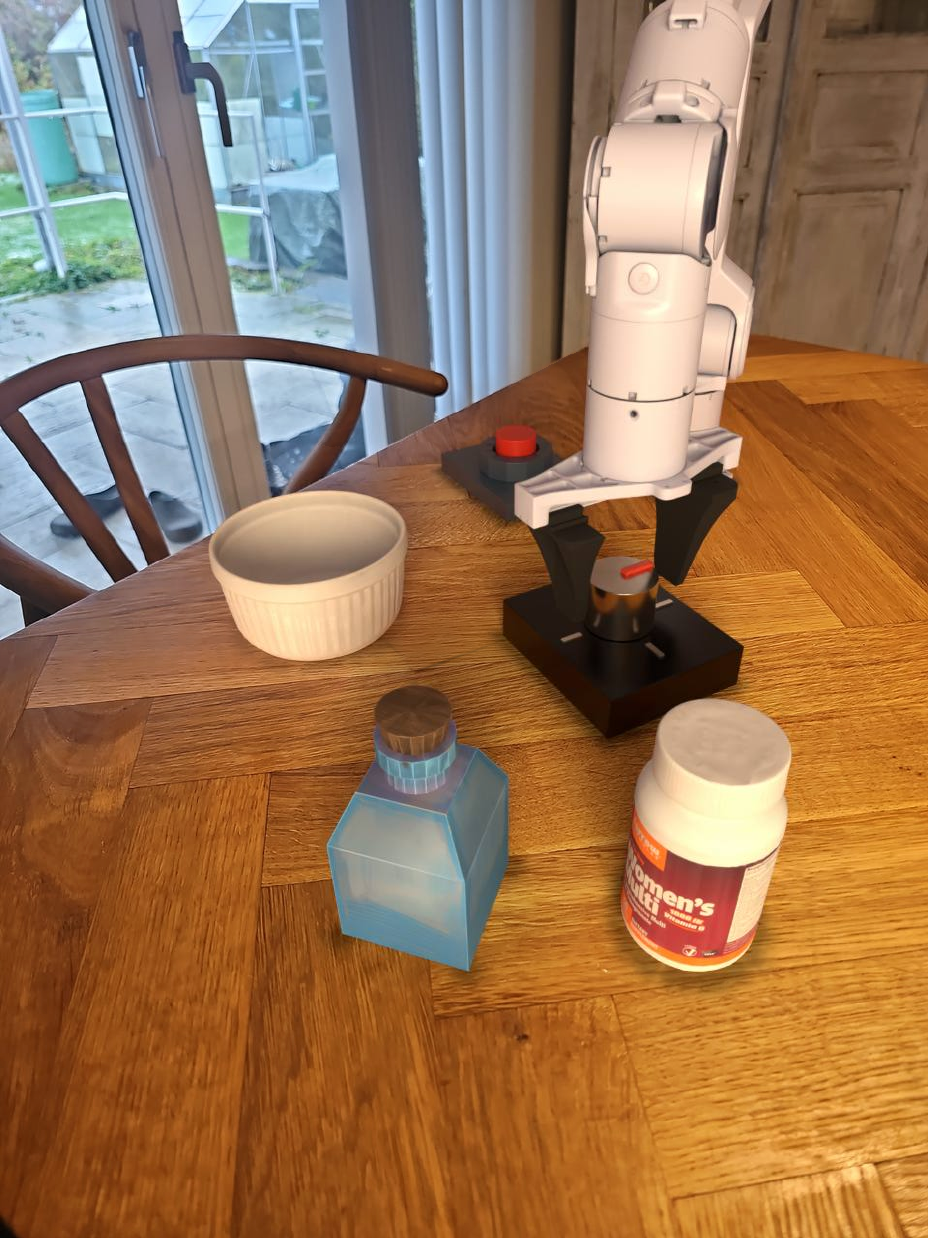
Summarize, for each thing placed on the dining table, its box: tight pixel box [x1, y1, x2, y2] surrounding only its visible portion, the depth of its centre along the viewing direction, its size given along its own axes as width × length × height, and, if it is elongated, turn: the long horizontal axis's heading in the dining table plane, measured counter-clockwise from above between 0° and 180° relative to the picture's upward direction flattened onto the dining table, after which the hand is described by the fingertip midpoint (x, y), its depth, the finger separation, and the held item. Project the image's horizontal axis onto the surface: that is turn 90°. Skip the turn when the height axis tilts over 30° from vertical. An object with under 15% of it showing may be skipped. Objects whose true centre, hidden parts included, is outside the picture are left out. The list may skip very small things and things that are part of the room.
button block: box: [440, 434, 565, 523], centre depth 76 cm, size 12×9×4 cm
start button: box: [494, 424, 537, 457], centre depth 75 cm, size 4×4×2 cm
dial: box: [584, 555, 660, 641], centre depth 53 cm, size 4×4×4 cm
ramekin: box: [208, 489, 409, 662], centre depth 59 cm, size 13×13×7 cm
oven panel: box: [502, 582, 745, 740], centre depth 55 cm, size 12×10×3 cm
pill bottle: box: [620, 698, 792, 973], centre depth 36 cm, size 6×6×11 cm
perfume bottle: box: [326, 684, 510, 972], centre depth 37 cm, size 6×6×12 cm
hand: (620, 595), depth 53 cm, fingers open, 7 cm apart
